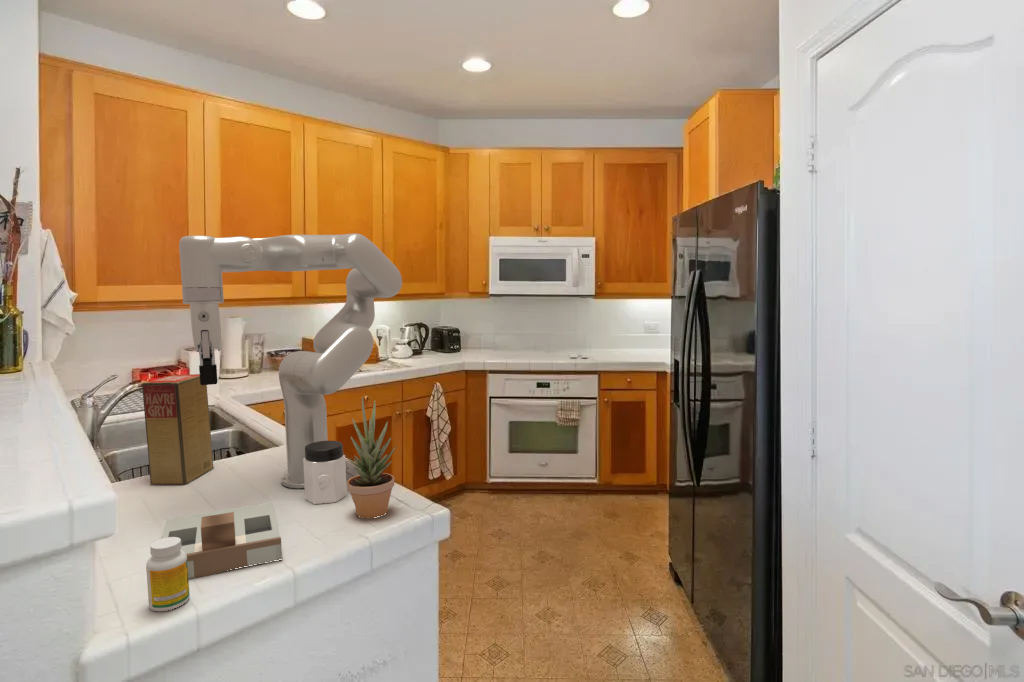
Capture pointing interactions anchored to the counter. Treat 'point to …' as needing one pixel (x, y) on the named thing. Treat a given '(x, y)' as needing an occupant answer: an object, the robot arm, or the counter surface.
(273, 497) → the counter surface
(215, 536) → the walnut block
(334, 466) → the jar
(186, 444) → the food packaging
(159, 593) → the supplement bottle
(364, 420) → the potted plant
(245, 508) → the board
